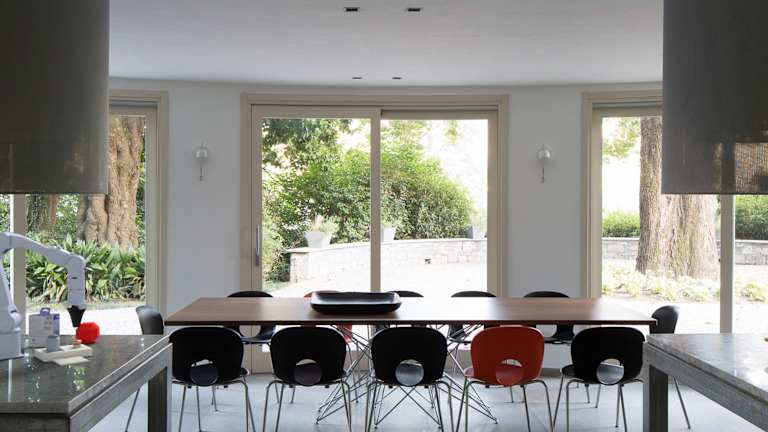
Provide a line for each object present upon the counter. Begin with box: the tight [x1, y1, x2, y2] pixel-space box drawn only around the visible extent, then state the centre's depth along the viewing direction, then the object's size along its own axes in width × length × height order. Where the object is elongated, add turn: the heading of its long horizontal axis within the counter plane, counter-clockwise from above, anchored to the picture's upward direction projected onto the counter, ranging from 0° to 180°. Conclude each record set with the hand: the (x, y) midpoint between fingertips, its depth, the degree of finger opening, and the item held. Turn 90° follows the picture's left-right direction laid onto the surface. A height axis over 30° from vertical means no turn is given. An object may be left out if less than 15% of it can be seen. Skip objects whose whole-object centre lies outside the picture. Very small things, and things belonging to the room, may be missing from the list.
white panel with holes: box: [34, 343, 93, 363], centre depth 256 cm, size 16×12×2 cm
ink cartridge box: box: [27, 307, 61, 348], centre depth 274 cm, size 10×6×14 cm, turn 89°
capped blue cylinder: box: [45, 335, 61, 353], centre depth 254 cm, size 4×4×8 cm
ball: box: [75, 321, 101, 344], centre depth 282 cm, size 8×8×8 cm
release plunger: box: [71, 339, 82, 349], centre depth 259 cm, size 3×3×4 cm
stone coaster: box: [52, 356, 90, 367], centre depth 246 cm, size 9×9×1 cm
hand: (76, 327), depth 259 cm, fingers closed
